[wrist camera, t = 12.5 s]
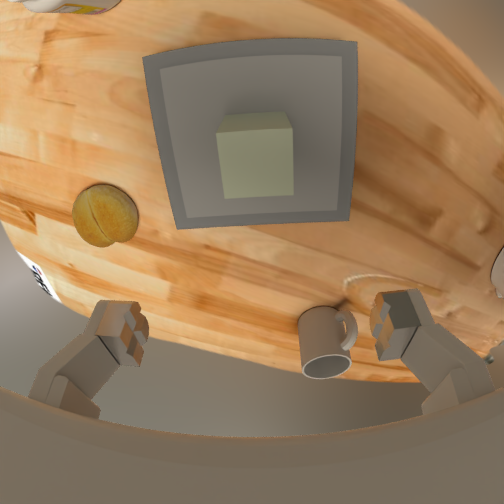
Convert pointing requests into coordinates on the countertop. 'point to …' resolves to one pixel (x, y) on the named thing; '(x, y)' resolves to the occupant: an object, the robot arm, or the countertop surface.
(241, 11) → the countertop surface
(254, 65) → the tray
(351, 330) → the cup
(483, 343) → the countertop surface
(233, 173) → the sage block
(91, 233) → the bread roll
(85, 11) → the supplement bottle
